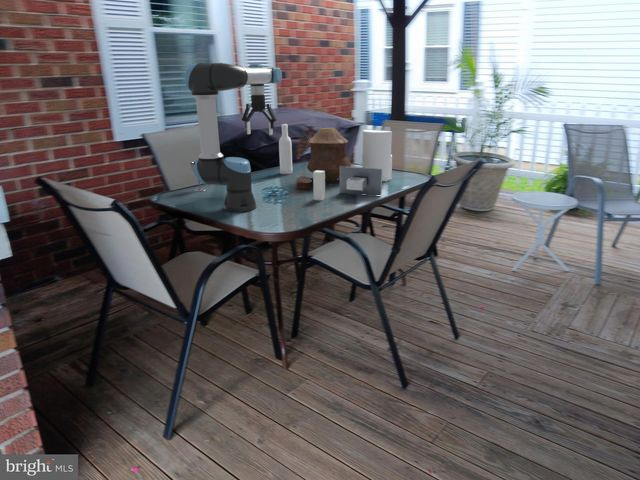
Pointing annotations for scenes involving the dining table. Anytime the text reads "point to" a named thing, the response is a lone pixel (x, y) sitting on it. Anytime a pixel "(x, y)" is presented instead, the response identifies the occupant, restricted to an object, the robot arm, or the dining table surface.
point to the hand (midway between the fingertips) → (259, 134)
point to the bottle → (285, 151)
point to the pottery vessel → (328, 153)
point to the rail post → (319, 185)
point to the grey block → (360, 180)
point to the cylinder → (378, 151)
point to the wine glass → (195, 176)
